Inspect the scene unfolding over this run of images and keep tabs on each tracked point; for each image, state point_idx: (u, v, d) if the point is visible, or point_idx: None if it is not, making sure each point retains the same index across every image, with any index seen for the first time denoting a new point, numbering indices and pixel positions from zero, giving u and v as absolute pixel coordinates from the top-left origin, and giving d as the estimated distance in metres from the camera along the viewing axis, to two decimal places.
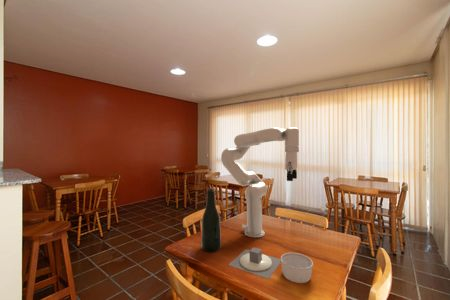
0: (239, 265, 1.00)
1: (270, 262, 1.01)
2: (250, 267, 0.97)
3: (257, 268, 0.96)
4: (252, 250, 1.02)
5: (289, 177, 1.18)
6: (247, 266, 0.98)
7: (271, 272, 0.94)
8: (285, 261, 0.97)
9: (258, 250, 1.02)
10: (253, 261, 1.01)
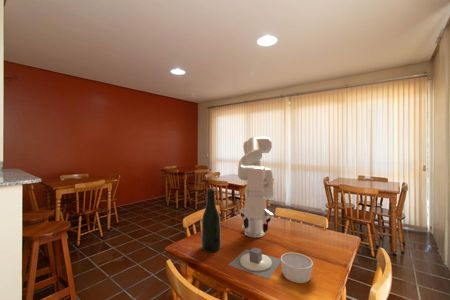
0: (239, 265, 1.00)
1: (270, 262, 1.01)
2: (250, 267, 0.97)
3: (257, 268, 0.96)
4: (252, 250, 1.02)
5: (267, 227, 0.99)
6: (247, 266, 0.98)
7: (271, 272, 0.94)
8: (285, 261, 0.97)
9: (258, 250, 1.02)
10: (253, 261, 1.01)
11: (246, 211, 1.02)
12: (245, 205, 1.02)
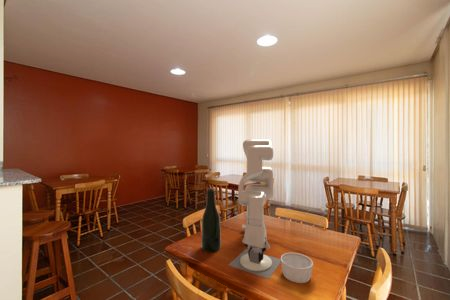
0: (239, 265, 1.00)
1: (270, 262, 1.01)
2: (250, 267, 0.97)
3: (257, 268, 0.96)
4: (252, 250, 1.02)
5: (262, 256, 1.01)
6: (247, 266, 0.98)
7: (271, 272, 0.94)
8: (285, 261, 0.97)
9: (258, 250, 1.02)
10: (253, 261, 1.01)
11: (246, 238, 1.02)
12: (245, 232, 1.02)
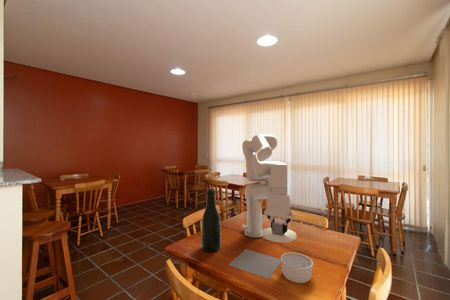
0: (239, 265, 1.00)
1: (295, 234, 0.94)
2: (274, 238, 0.90)
3: (282, 239, 0.89)
4: (275, 222, 0.96)
5: (286, 228, 0.94)
6: (270, 238, 0.91)
7: (271, 272, 0.94)
8: (285, 261, 0.97)
9: (282, 222, 0.95)
10: (276, 233, 0.94)
11: (269, 209, 0.96)
12: (268, 203, 0.96)
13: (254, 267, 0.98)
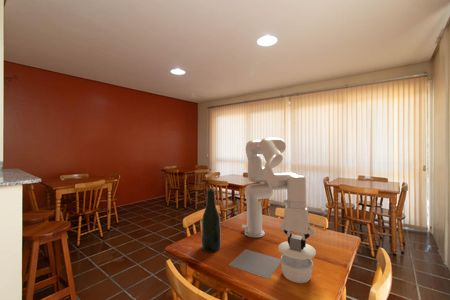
0: (239, 265, 1.00)
1: (313, 250, 0.90)
2: (293, 255, 0.86)
3: (301, 256, 0.85)
4: (293, 237, 0.92)
5: (305, 244, 0.90)
6: (289, 254, 0.87)
7: (271, 272, 0.94)
8: (285, 261, 0.97)
9: (300, 237, 0.91)
10: (294, 249, 0.90)
11: (286, 224, 0.91)
12: (285, 217, 0.92)
13: (254, 267, 0.98)
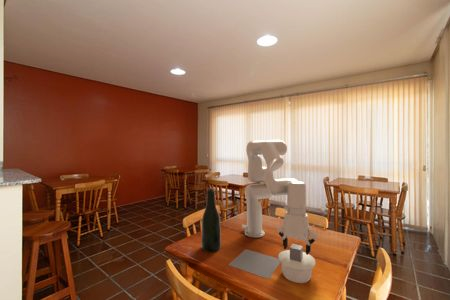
0: (239, 265, 1.00)
1: (313, 260, 0.91)
2: (293, 266, 0.86)
3: (301, 267, 0.85)
4: (292, 247, 0.92)
5: (310, 249, 0.89)
6: (289, 264, 0.87)
7: (271, 272, 0.94)
8: None
9: (300, 247, 0.91)
10: (294, 259, 0.90)
11: (286, 230, 0.92)
12: (285, 223, 0.92)
13: (254, 267, 0.98)
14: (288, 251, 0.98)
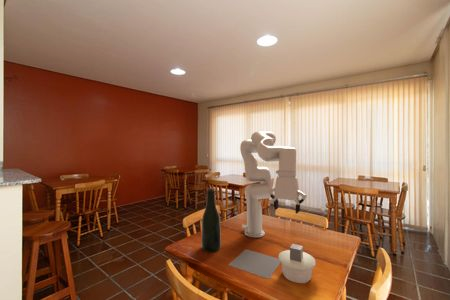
0: (239, 265, 1.00)
1: (313, 260, 0.91)
2: (293, 266, 0.86)
3: (301, 267, 0.85)
4: (293, 247, 0.92)
5: (299, 208, 0.96)
6: (289, 265, 0.87)
7: (271, 272, 0.94)
8: None
9: (300, 247, 0.91)
10: (294, 259, 0.90)
11: (277, 192, 0.99)
12: (276, 186, 0.99)
13: (254, 267, 0.98)
14: (288, 251, 0.98)
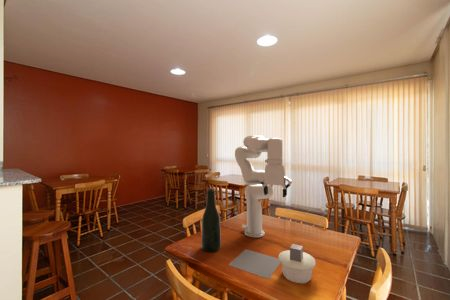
0: (239, 265, 1.00)
1: (313, 260, 0.90)
2: (293, 266, 0.86)
3: (301, 267, 0.85)
4: (293, 247, 0.92)
5: (286, 193, 1.07)
6: (289, 265, 0.87)
7: (271, 272, 0.94)
8: None
9: (300, 247, 0.91)
10: (294, 259, 0.90)
11: (266, 178, 1.10)
12: (265, 173, 1.10)
13: (254, 267, 0.98)
14: (288, 251, 0.98)
